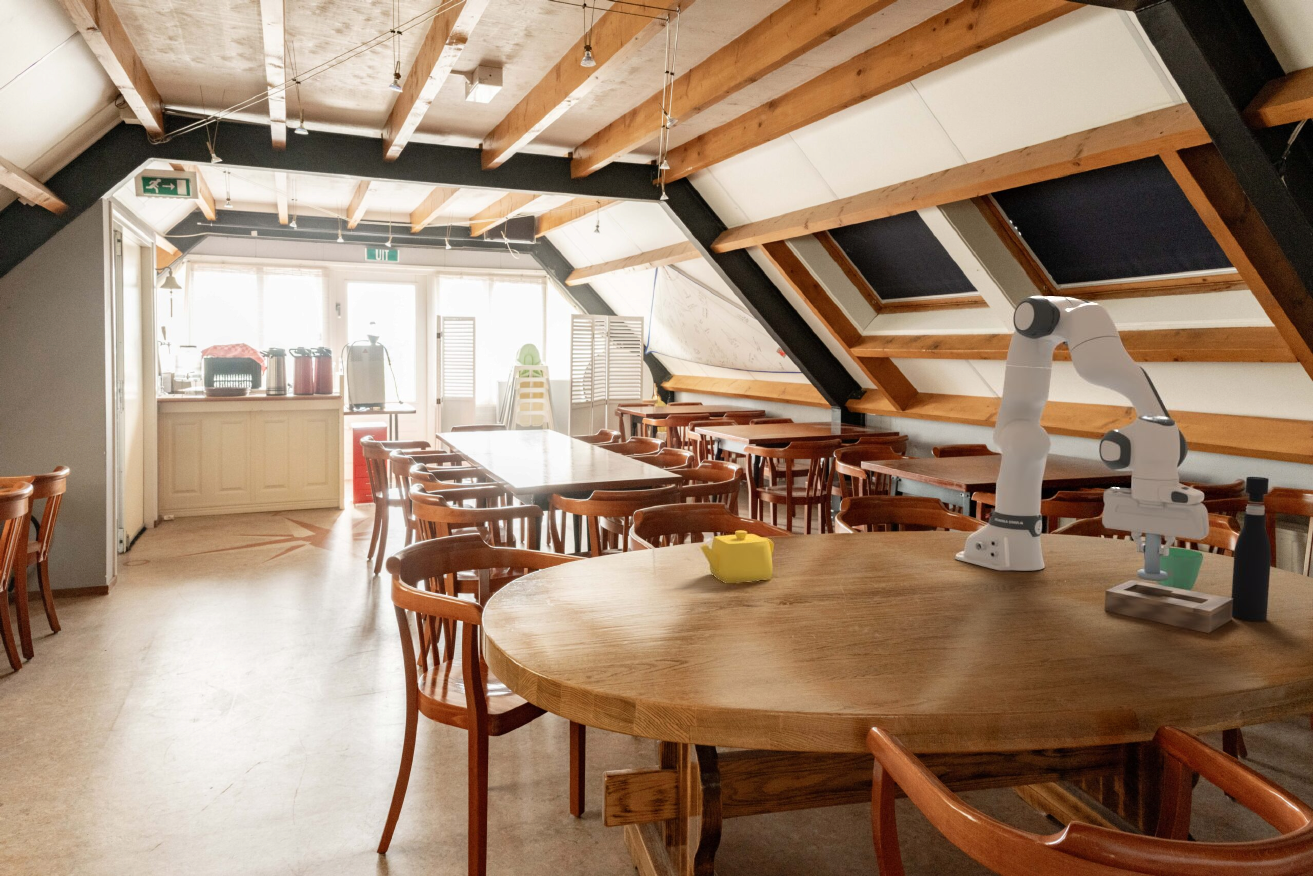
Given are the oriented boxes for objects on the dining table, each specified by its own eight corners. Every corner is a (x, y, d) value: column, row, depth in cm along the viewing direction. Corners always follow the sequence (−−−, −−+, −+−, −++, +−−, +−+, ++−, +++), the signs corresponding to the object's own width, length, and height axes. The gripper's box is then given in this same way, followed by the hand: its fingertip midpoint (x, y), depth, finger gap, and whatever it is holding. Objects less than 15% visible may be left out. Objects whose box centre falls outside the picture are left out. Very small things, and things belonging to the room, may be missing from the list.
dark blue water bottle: (1256, 623, 177) (1265, 480, 174) (1223, 615, 182) (1232, 477, 180) (1273, 619, 180) (1282, 478, 177) (1240, 611, 185) (1249, 475, 183)
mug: (1211, 598, 195) (1214, 555, 194) (1174, 600, 193) (1177, 557, 192) (1162, 582, 210) (1164, 542, 209) (1127, 584, 208) (1129, 544, 207)
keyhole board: (1104, 610, 186) (1105, 590, 185) (1130, 599, 195) (1131, 579, 194) (1208, 633, 171) (1210, 611, 170) (1231, 619, 180) (1233, 598, 179)
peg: (1132, 577, 186) (1134, 523, 184) (1143, 573, 189) (1144, 519, 188) (1160, 582, 181) (1162, 527, 180) (1171, 577, 185) (1172, 523, 184)
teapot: (709, 587, 205) (710, 539, 204) (691, 574, 217) (691, 529, 216) (784, 580, 212) (784, 533, 211) (762, 568, 223) (762, 524, 222)
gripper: (1098, 487, 189) (1096, 548, 190) (1202, 497, 174) (1200, 564, 175) (1109, 484, 193) (1108, 544, 194) (1212, 494, 178) (1210, 558, 179)
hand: (1152, 553), depth 185 cm, fingers closed on peg, 3 cm apart
